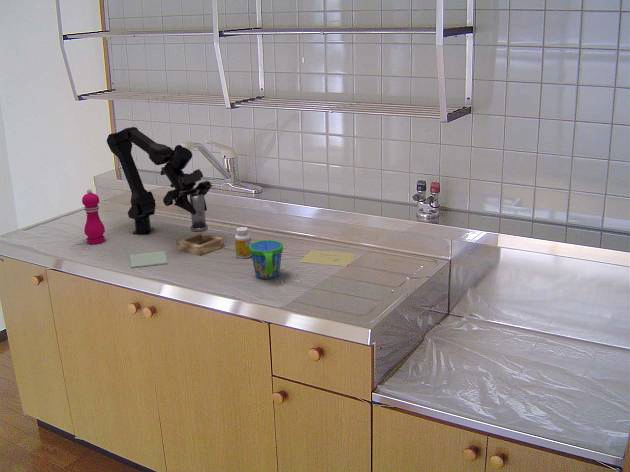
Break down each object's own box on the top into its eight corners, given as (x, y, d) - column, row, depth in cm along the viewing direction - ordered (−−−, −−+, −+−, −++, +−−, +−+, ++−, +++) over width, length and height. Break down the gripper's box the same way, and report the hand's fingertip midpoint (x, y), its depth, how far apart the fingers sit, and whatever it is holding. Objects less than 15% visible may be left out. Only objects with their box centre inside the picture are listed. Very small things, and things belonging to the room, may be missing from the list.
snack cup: (285, 284, 214) (283, 252, 211) (250, 285, 213) (248, 254, 210) (283, 266, 229) (282, 236, 225) (251, 267, 228) (249, 238, 225)
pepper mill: (109, 238, 261) (102, 186, 254) (101, 245, 254) (94, 191, 248) (90, 238, 261) (83, 186, 255) (82, 244, 255) (75, 191, 248)
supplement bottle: (232, 256, 239) (230, 229, 236) (244, 252, 243) (242, 225, 240) (243, 259, 235) (241, 232, 232) (255, 255, 239) (253, 228, 236)
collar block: (177, 249, 247) (176, 241, 246) (202, 240, 256) (201, 232, 255) (199, 255, 240) (199, 247, 239) (224, 246, 249) (224, 238, 248)
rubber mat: (129, 256, 241) (129, 255, 241) (165, 252, 244) (164, 251, 244) (130, 268, 230) (130, 266, 230) (167, 263, 233) (167, 262, 233)
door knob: (193, 226, 249) (190, 193, 245) (209, 226, 249) (207, 193, 245) (188, 232, 243) (185, 197, 239) (205, 232, 243) (203, 197, 239)
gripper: (165, 168, 234) (189, 205, 231) (206, 158, 248) (230, 193, 245) (152, 187, 241) (176, 223, 238) (193, 177, 255) (216, 210, 252)
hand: (200, 212), depth 243 cm, fingers closed on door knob, 5 cm apart
